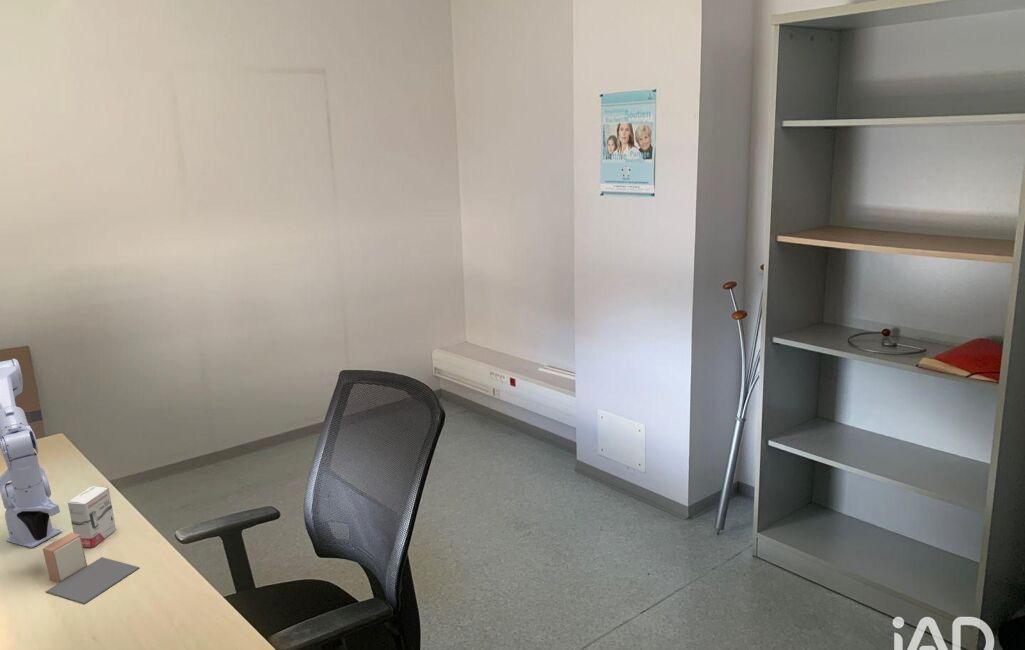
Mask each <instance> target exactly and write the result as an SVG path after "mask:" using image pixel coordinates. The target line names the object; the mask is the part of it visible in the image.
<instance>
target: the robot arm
mask: <svg viewBox="0 0 1025 650" xmlns="http://www.w3.org/2000/svg"><path fill="white" fill-rule="evenodd" d="M23 379H24V378H23V374H22V370H21V366H20V363H19V361H18V359H16V358H12V359H8V360H3V361H0V451H1V454H2V458H3V460H4V462H5V464H6V468H7V469H6V470H5V471H4V472H3V473H2V474H0V475H1V476H0V495H1V500H2V504H3V508H4V509H5V512H4V519H5V523H6V526H7V527H6V528H7V531H8V535H9V537H8V538H6V542H9V543H13V544H15V545H19V546H20V545H21V546H24V547H27V548H31V549H32V548H35V547H36V546H38V545H40V544H43V543H44V542H45V541H47V540H49V539H51V538H53V537H55V536H57V535H58V534H60V533H62V530H61V529H60V528H55V527H53V526H52V525H53V524H52V521H51V517H53V516H55V515H57V514H59V513H60V512H61V511H60V507H59V504H57V503H55V502H54V501H53V500H52V499H51V498H50V497H51V496H52V490H51V486H50V483H49V479H48V477H47V474H46V470H45V468H43V466H41V465H40V463H39V458H38V454H39V446H38V441H37V438H36V434H35V432H34V431H33V429H32V427H31V425H29V422H28V419H27V417H26V416H27V415H26V414H25V413H26V412H25V410H24V409H22V408H21V407H19V406H17V405H16V399H15V398H16V397H17V396H18V395H20V394H21V393H22V392H23V388H24V386H23V384H24V383H23V381H24V380H23Z"/></svg>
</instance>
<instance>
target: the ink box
mask: <svg viewBox="0 0 1025 650" xmlns="http://www.w3.org/2000/svg"><path fill="white" fill-rule="evenodd" d="M111 499H112V498H111V494H110V487H106V486H96V485H92V486H90V487H88V488H86V489H85V490H83V491H82V492H80V493H79V494H77V495H76V496H74V497H73V498H71V499H69V500H68V502H67V505H68V511H69V518H70V521H71V526H72V531H73V532H72V533H75V534H79V535H80V536H81V540H82V545H83V548H95V547H96V546H97V545H99V544H100V543H101V542H102V541H103V540H105V539H106V538H107V537H109V536H110V535H111V534H113V533H114V532H115V531H117V527H116V526H117V525H116V521H115V516H114V515H115V514H114V510H113V505H112V500H111Z"/></svg>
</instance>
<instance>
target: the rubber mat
mask: <svg viewBox="0 0 1025 650" xmlns="http://www.w3.org/2000/svg"><path fill="white" fill-rule="evenodd" d="M139 569H140V566H137V565H132V564H129V563H125V562H122V561H118V560H115V559H111V558H106V557H104V556H103V557H102V556H101V557H99V558H98V559H96V560H94V561H93V562H92V563H90V564H87V566H86V567H85V568H83V569H81V570H80V571H78V572H76V573H75V574H73V575H72V576H70V577H68V578H67V579H65V580H63V581H62V582H60V583H57V584H56V585H54V586H52V587H50V588H49V589H47V590H45V593H46V594H50V595H53V596H56V597H60V598H63V599H66V600H69V601H72V602H74V603H75V602H76V603H79V604H82V605H86V604H88V603H89V602H90V601H92V600H93V599H95V598H97V597H98V596H100V595H101V594H103V593H104V592H106V591H107V590H109V589H110V588H112V587H113V586H115V585H117V584H118V583H120V582H121V581H122V580H124V579H125V578H127V577H129V576H130V575H132V574H133V573H134V571H135V572H136V571H137V570H139ZM128 575H129V576H128Z"/></svg>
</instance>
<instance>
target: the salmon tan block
mask: <svg viewBox="0 0 1025 650" xmlns="http://www.w3.org/2000/svg"><path fill="white" fill-rule="evenodd" d="M42 552H43V553H42V554H43V557H44V561H45V564H46V569H47V574H48V578H49V580H50V581H51V582H54V583H57V584H58V583H60V582H62V581H63V580H65V579H67V578H68V577H70V576H72V575H73V574H75V573H76V572H78V571H80V570H81V569H83V568H85V567H86V566H88V563H87V559H86V555H85V549H84V547H83V545H82V540H81V536H80V535H79V534H75V533H74V532H69V533H68V534H66V535H64V536H62V537H61V538H59V539H57V540H55V541H53V542H51V543H50V544H48V545H46V546H44V547H42Z"/></svg>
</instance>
